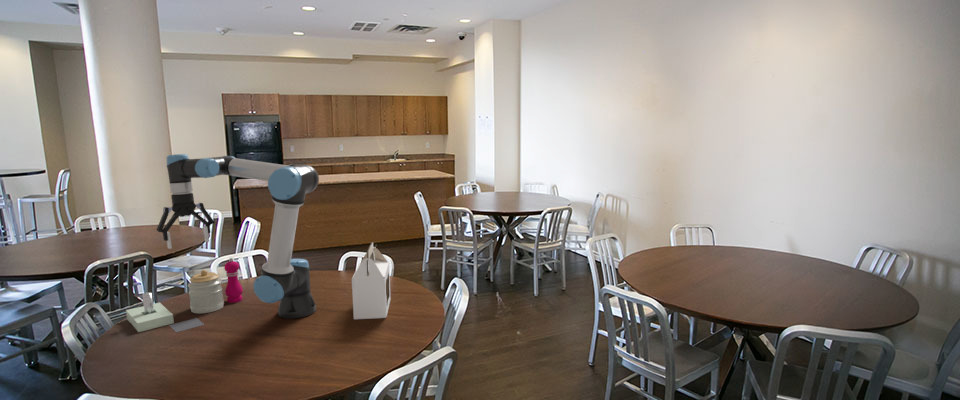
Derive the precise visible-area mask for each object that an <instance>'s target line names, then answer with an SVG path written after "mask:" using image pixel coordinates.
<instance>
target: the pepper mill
mask: <svg viewBox="0 0 960 400" xmlns="http://www.w3.org/2000/svg"><path fill="white" fill-rule="evenodd" d="M223 269H224V271H225V274H226V275H225V276H226V277H227V283H226V287H225V290H224V294H225V295H226V302H227V303H229V304H230V303H231V304H234V303H238V302H241V301H242V300H243V295H242V294H243V292H244V290H243V286H242V285H241V283H240V281H239V277H238V275H239V274H240V273H239V269H240V264H239V262H238V261H234V258H233V257H230V258H228V261H227V262H226V263H225V264H224V268H223Z"/></svg>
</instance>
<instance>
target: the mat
mask: <svg viewBox="0 0 960 400" xmlns="http://www.w3.org/2000/svg"><path fill="white" fill-rule="evenodd" d="M204 325H205V324H204V322H202V321H201V320H200V319H199V318H198V317H195V318H191V319H187V320H183V321H180V322H176V323H175V322H174V323H172V324H169V325H168V326H169V327H170V328H171V329H172V330H173V331H174V332H175V333H180V332H183V331H186V330H187V331H188V330H190V329H194V328H197V327H200V326H201V327H202V326H204Z"/></svg>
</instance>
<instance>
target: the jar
mask: <svg viewBox="0 0 960 400" xmlns="http://www.w3.org/2000/svg"><path fill="white" fill-rule="evenodd" d="M222 282H223V279H221V278H220V274H218V273H216V272H213V271H208V270H207V269H201V271H200V273H197V274H194V275H193V276H192V277H190V278H189V283H188V284H187V287H188V288H189V291H188V295H189V304H190V305H189V307H190V311H191V313H193V314H207V313H212V312H215V311H219V310H221V309H222V308H224V304H225V300H224V294H223V289H224V288H223V285H222Z"/></svg>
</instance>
